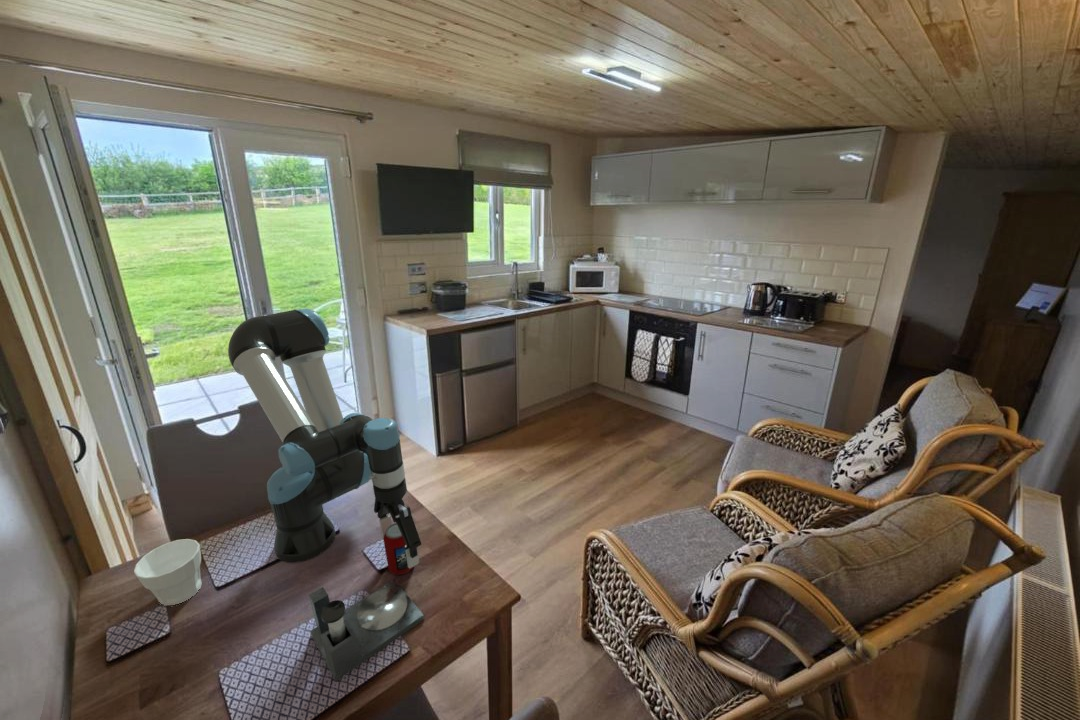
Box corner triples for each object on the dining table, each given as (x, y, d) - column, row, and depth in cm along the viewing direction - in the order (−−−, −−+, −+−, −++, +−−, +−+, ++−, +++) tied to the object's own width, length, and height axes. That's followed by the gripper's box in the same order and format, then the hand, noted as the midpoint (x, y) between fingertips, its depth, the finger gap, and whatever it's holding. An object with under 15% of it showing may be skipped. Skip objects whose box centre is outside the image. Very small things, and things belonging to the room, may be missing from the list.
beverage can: (407, 578, 114) (402, 541, 110) (383, 574, 115) (377, 537, 111) (419, 558, 120) (414, 522, 116) (396, 555, 121) (391, 519, 117)
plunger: (325, 642, 92) (317, 609, 89) (346, 628, 95) (339, 596, 92) (333, 657, 89) (325, 623, 86) (355, 642, 92) (348, 609, 89)
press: (310, 634, 100) (301, 598, 96) (394, 583, 113) (388, 550, 109) (335, 681, 90) (326, 644, 86) (424, 619, 103) (419, 584, 99)
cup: (222, 582, 114) (210, 547, 110) (167, 622, 103) (152, 585, 99) (193, 566, 118) (181, 532, 115) (137, 603, 108) (121, 567, 104)
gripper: (352, 466, 114) (365, 534, 122) (399, 511, 97) (411, 586, 104) (380, 455, 119) (391, 521, 126) (429, 495, 102) (439, 569, 109)
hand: (400, 551), depth 115 cm, fingers open, 13 cm apart
